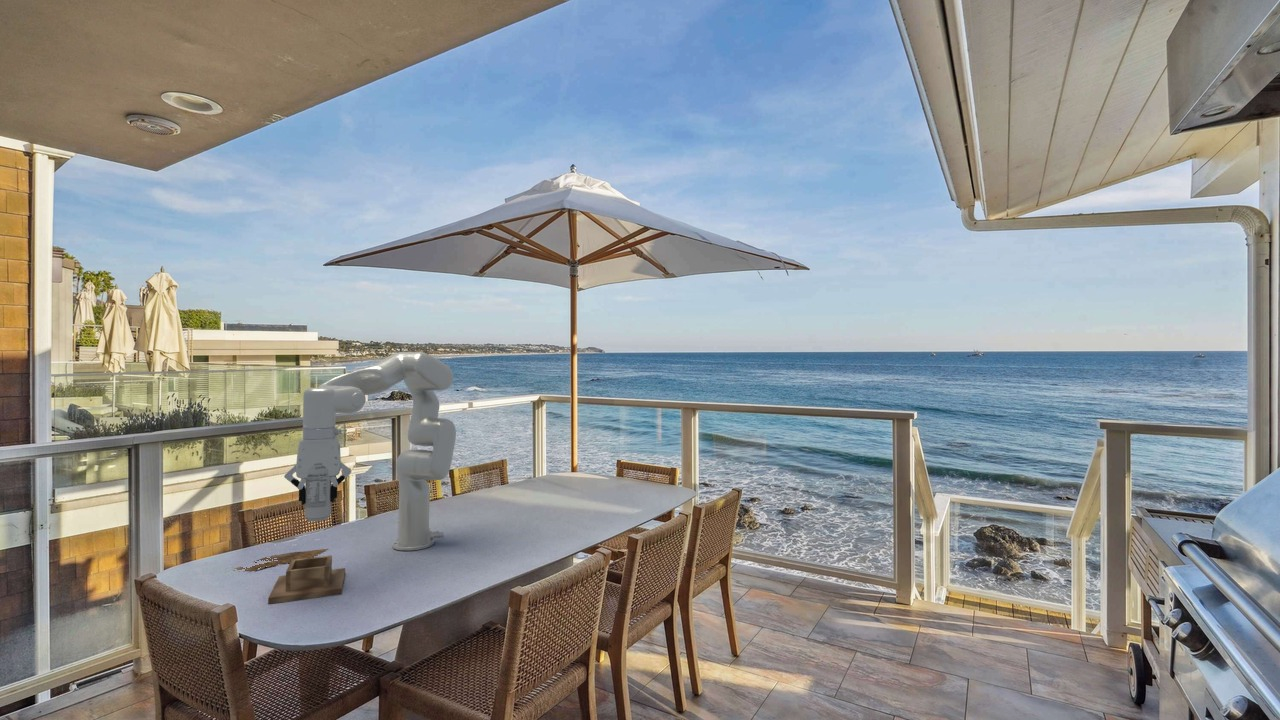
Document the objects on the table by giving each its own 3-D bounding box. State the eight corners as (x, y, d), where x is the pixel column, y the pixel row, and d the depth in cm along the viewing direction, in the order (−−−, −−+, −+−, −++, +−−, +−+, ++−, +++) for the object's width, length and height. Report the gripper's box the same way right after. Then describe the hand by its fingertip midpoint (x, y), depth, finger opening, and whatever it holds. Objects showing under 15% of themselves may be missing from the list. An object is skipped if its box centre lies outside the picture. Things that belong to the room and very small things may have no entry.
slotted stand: (345, 573, 159) (345, 550, 159) (341, 594, 145) (341, 568, 145) (279, 581, 153) (279, 557, 153) (268, 604, 138) (268, 577, 138)
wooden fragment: (238, 576, 157) (238, 572, 157) (228, 567, 164) (228, 563, 164) (336, 555, 176) (336, 551, 176) (323, 547, 183) (323, 544, 183)
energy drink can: (335, 515, 151) (336, 460, 151) (324, 521, 145) (325, 464, 145) (312, 515, 151) (313, 460, 151) (300, 522, 145) (301, 464, 145)
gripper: (356, 431, 155) (355, 496, 155) (282, 434, 148) (281, 502, 148) (355, 434, 149) (354, 502, 148) (278, 437, 141) (277, 509, 141)
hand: (318, 501), depth 148 cm, fingers closed on energy drink can, 6 cm apart
